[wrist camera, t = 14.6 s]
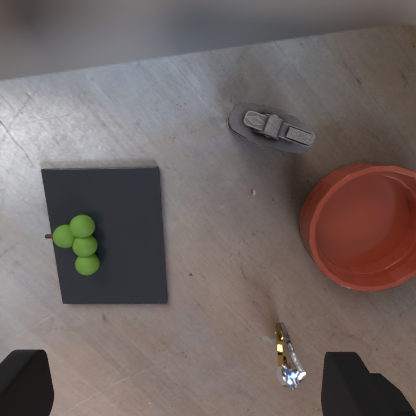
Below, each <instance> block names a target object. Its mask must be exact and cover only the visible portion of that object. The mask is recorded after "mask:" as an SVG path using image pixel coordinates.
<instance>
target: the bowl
mask: <svg viewBox="0 0 416 416" xmlns="http://www.w3.org/2000/svg"><path fill="white" fill-rule="evenodd" d="M299 232H300V235H301V238H302V242H303V245H304V248H305V249H306V251H307V252H308V253H309V255H310V256H311V257H312V259H313V260H314V262H315V263H316V264H317V265H318V267H319V268H320V269H321V271H322V272H323V273H324V275H325V276H327V277H328V278H330V279H331V280H333V281H334V282H336V283H337V284H338V285H340V286H343V287H346V288H350V289H353V290H357V291H381V290H384V289H388V288H392V287H395V286H399V285H401V284H402V283H404V282H406V281H407V280H409V279H411V278H412V277H414V276H416V172H414V171H411V170H408V169H405V168H402V167H398V166H395V165H389V164H384V163H378V162H356V163H352V164H349V165H346V166H343V167H340V168H337V169H335V170H334V171H333V172H331V173H330V174H328V175H327V176H325V177H324V178H322V179H321V180H320V181H319V182H318V183H317V184H316V186H315V187H314V188H313V189H312V191H311V192H310V193H309V194H308V196H307V198H306V200H305V203H304V205H303V208H302V210H301V213H300V228H299Z"/></svg>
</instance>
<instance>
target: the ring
mask: <svg viewBox="0 0 416 416" xmlns="http://www.w3.org/2000/svg"><path fill="white" fill-rule="evenodd" d="M275 336H276V342H277V350H278V368H277V378H278V380H279V382H280V383H281V384H282V385H283V386H284V387H291V390H292V391H294V390H295V388H297V384H300V382H301V380H303V379H304V378H305V372H304V370H303V368H302V366H301V364H300V362H299V360H298V358H297V356H296V354H295V351H294V349H293V346H292V344H291V341H290V338H289V335H288V332H287V329H286V326H285V324H284V323H280V322H279V323H276V331H275ZM283 338H284V341H285V344H286V347H287V350H288V353H289V355H290V357H291V359H292V361H293V363H294V365H295V367H296V369H293V370H292V367H291V364H290V363H287V360H286V357H285V353H284V348H283ZM294 385H295V388H294Z"/></svg>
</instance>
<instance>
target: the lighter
mask: <svg viewBox="0 0 416 416" xmlns="http://www.w3.org/2000/svg"><path fill="white" fill-rule="evenodd" d="M227 126H228V128H229V130H230V131H232V132H233V133H235V134H237V135H238V136H240V137H241V138H243V139H246V140H248V141H250V142H252V143H255V144H258V145H261V146H264V147H268V148H271V149H275V150H279V151H282V152H289V153H296V154H303V153H305V152H307V151H308V150H309V149H311V147H312V146H313V144H314V140H315V133H314V130H313V129H312V128H311V127H310V126H309V125H307V124H306V123H304V122H302V121H301V120H299V119H298V118H296V117H294V116H292V115H289V114H287V113H285V112H283V111H281V110H278V109H274V108H271V107H267V106H264V105H258V104H252V103H239V104H237V105H236V106H235V107H234V108H233V109H232V111H231V113H230V114H229V116H228V118H227Z"/></svg>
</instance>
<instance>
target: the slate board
mask: <svg viewBox="0 0 416 416" xmlns="http://www.w3.org/2000/svg"><path fill="white" fill-rule="evenodd" d="M41 172H42V178H43V184H44V191H45V197H46V203H47V209H48V215H49V221H50V227H51V234H53V233H54V231H55V229H56V228H58V227H59V226H61V225H70V222H71V221H72V219H73V218H74V217H76V216H78V215H87V216H89V217H91V218H92V219H93V220H94V223H95V230H94V232H93V233H92V234H91V235H92V236H93V237H95V239H96V240H97V249H96V251H95V252H94V254H96V255H97V256H98V258H99V261H100V265H99V268H98V270H97V271H96V272H95V273H93V274H91V275H82V274H80V273H79V272H78V271H77V270H76V267H75V262H76V259H77V258H78V255H77V254H76V253H75V252H74V251H73V247H72V246H71V247H68V248H62V247H59V246H57V245H56V244H55V242H54V241H53V246H54V252H55V258H56V264H57V270H58V277H59V283H60V289H61V295H62V301H63V304H166V303H167V286H166V271H165V255H164V239H163V223H162V208H161V192H160V176H159V167H110V168H57V169H42V170H41ZM52 240H53V238H52Z"/></svg>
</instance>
